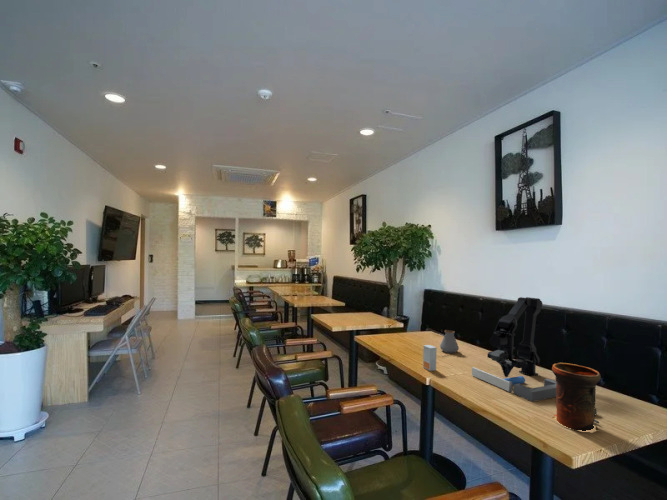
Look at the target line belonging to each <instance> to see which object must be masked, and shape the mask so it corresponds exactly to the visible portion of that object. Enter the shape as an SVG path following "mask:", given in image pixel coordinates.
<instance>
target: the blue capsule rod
mask: <svg viewBox="0 0 667 500" xmlns="http://www.w3.org/2000/svg"><path fill="white" fill-rule="evenodd" d="M503 379H504V380H506V381H511V382H512V386H514V384H521V385H522V384H525V382H526V379H525V377H524V376H523V375H519V376H512V377H505V378H503Z"/></svg>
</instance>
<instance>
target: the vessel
mask: <svg viewBox="0 0 667 500" xmlns="http://www.w3.org/2000/svg"><path fill="white" fill-rule="evenodd" d="M551 371H552V373H553V375H554V377H555V380H554V381H556V384H557V385H556V397H555V400H556V401H555V403H556V414H553V416H552V415H550V417H551V419H553V420H554V419H556V421H558V422H559V423H560V424H562V425H563V426H566V427H568V428H571V429H574V430H582V431H586V430H591V429H593V428H594V426H593V425H594V424H595V422H594V419H595V416H594V413H595V408H596V390H597V389H596V387H597V384H599V382H600V381H601V378H602V377H601V374H600V372H599V371H598V370H596V369H594V368H591V367H587V366H583V365H578V364H575V363H574V364H573V363H567V362H557V363H554V364H552V367H551ZM571 429H570V430H571Z"/></svg>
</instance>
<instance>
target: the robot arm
mask: <svg viewBox="0 0 667 500" xmlns="http://www.w3.org/2000/svg"><path fill="white" fill-rule="evenodd" d="M542 308H543V301H542V300H541V299H540V298H535V297H528V296H527V297H522V296H521V297H518V298H517V301H516V303H515V304H514V305H513V307H512V308H511V309H510V310H509V312H508V313H507V314H505V315H503V316H502V317H501V318H499V320H498V322H497V324H496V325H495V328H494V331H493V333H492V335H490V337H489V338H488V342H489V344H490V346H491V347H492V348H497V350H494V351H489V352H487V358H488V359H491V360H492V361H494V362H496V363H498V364H499V365H500V367H501V370H502V373H503V376H504V377H505V378H509V376H510V373H511V372H512V370H513V368H517V369H520V370H519V371H518V372H519V373H520V374H523V375H527V376H529V377H531V376H537V375H539V373H538V372H536V365H540V360H541V359H540V357H539V355H538V354H537V347H536V346H535V343H534V341H535V333H536V323H537V322H536V321H537V316H538V315H539V313H540V312H541V310H542ZM523 313H525V317H524V327H523V337H522V341H521V342H520V343H518V344H517V350H516V347H514V337H515V336H516V333H515V332H516V330H517V327H518V321H519V319H520V317H522V315H523ZM515 350H516V355H517V359H515V358H516V356H515V355H514V351H515Z"/></svg>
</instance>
